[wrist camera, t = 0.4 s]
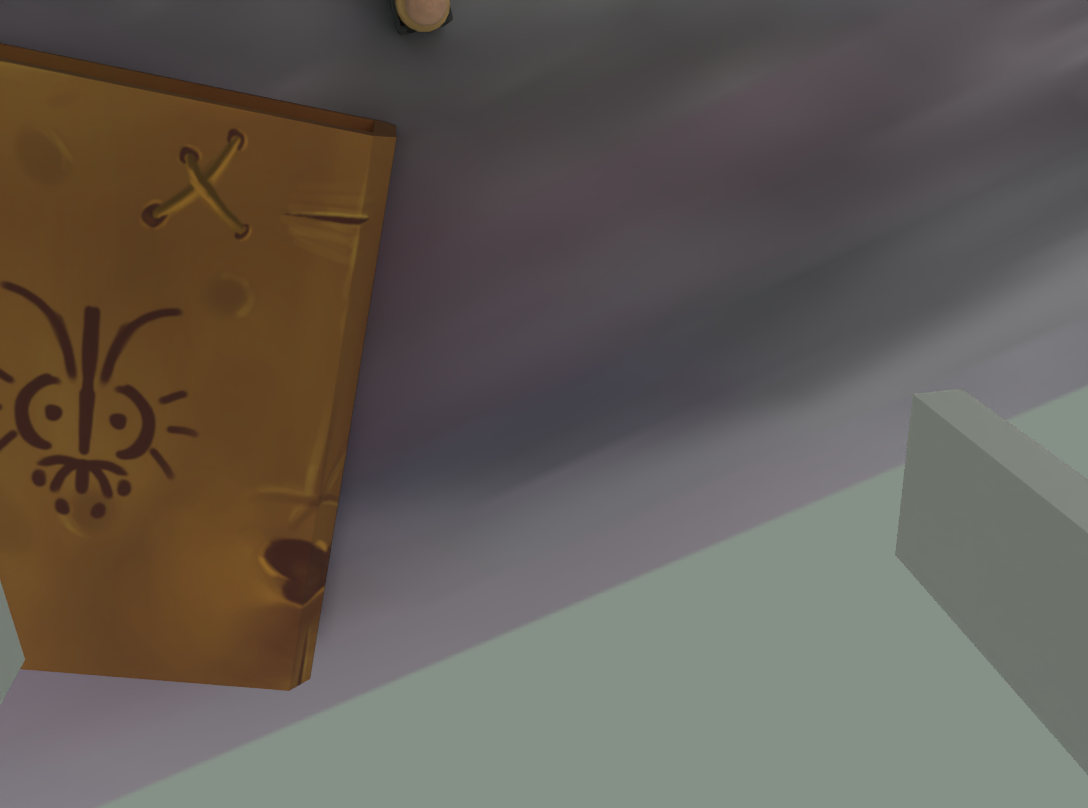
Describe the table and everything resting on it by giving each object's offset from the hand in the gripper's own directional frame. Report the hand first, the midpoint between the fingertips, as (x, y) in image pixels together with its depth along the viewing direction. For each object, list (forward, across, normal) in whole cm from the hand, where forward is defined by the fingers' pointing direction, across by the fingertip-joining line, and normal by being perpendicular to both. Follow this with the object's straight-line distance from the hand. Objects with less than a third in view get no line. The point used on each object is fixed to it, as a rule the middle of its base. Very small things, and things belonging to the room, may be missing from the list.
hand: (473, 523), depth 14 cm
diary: (+28, -13, -7) cm, 32 cm away
